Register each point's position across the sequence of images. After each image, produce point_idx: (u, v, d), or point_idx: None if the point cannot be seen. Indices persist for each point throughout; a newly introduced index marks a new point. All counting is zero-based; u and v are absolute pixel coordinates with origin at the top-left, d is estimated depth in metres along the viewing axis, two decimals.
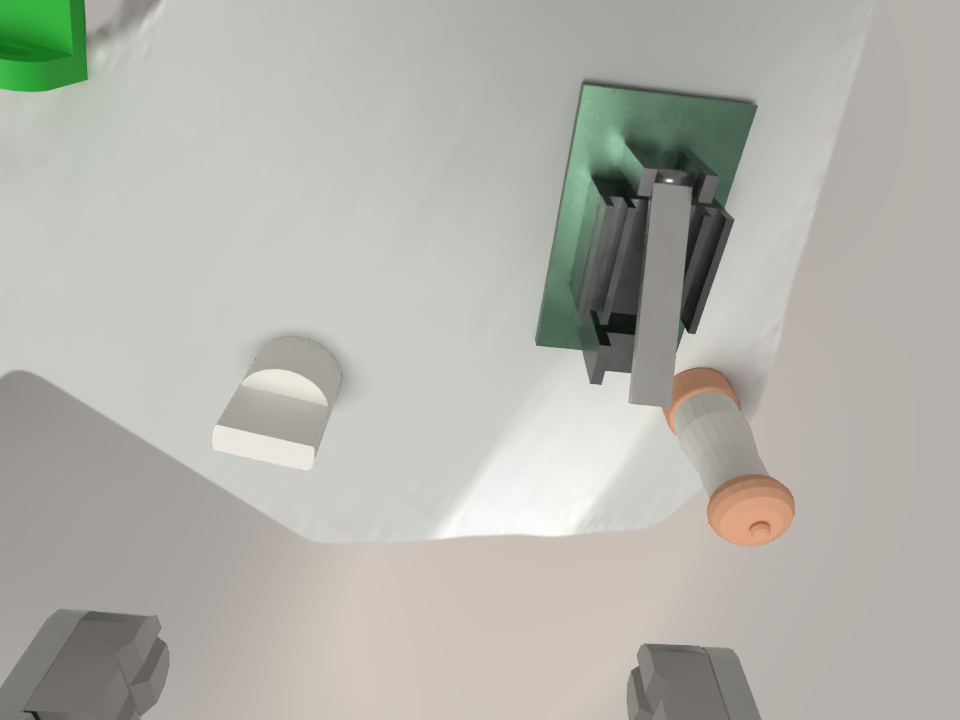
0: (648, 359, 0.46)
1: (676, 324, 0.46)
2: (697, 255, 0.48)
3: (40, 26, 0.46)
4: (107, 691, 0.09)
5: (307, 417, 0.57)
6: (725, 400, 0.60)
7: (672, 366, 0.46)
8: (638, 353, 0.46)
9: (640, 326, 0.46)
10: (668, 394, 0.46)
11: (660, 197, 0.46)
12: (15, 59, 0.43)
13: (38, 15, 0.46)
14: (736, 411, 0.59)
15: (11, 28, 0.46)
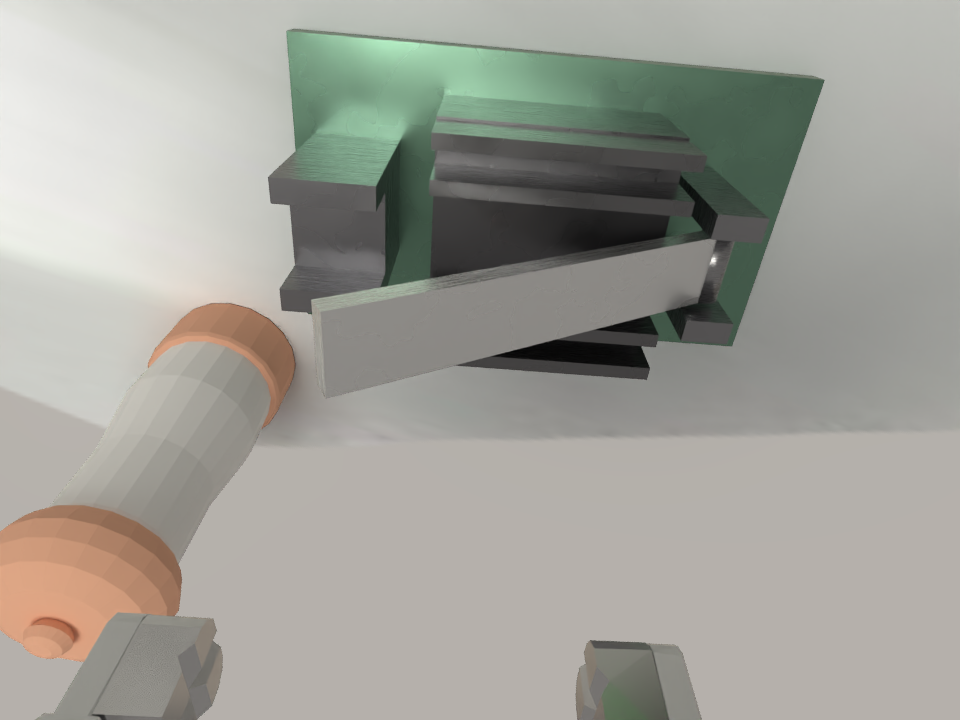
0: (428, 319, 0.19)
1: (497, 349, 0.22)
2: (583, 338, 0.26)
3: None
4: (172, 694, 0.09)
5: None
6: (263, 418, 0.34)
7: (417, 370, 0.20)
8: (440, 293, 0.19)
9: (495, 281, 0.20)
10: (355, 383, 0.19)
11: (696, 255, 0.25)
12: None
13: None
14: (253, 445, 0.33)
15: None
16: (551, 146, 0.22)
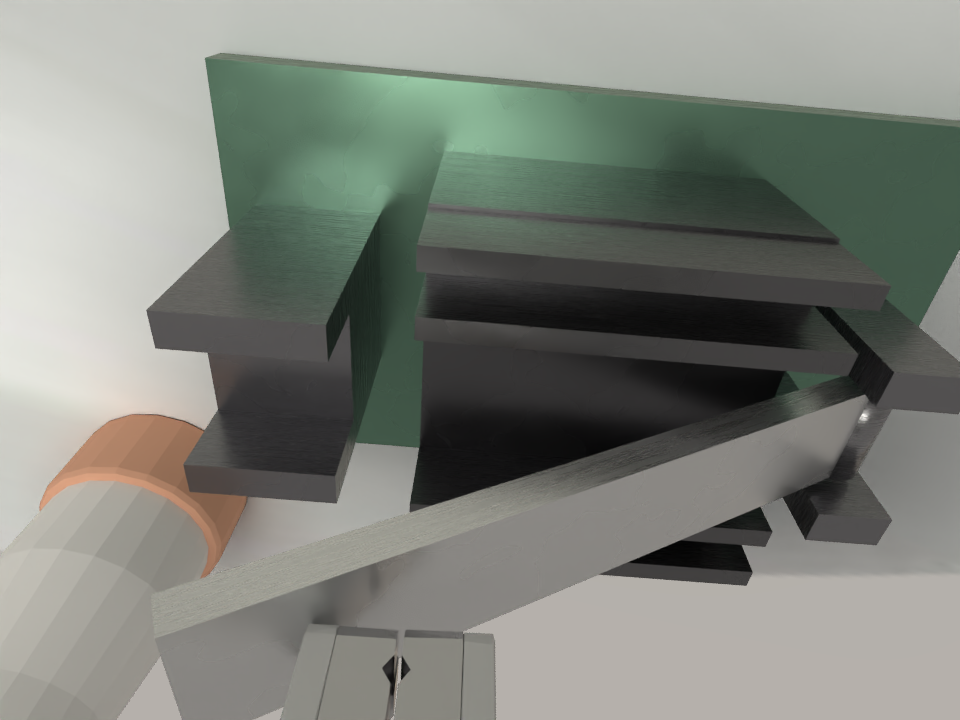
0: (384, 597, 0.11)
1: (513, 603, 0.13)
2: None
3: None
4: (384, 706, 0.09)
5: None
6: None
7: None
8: (406, 557, 0.10)
9: (511, 521, 0.11)
10: (248, 712, 0.11)
11: (838, 420, 0.16)
12: None
13: None
14: None
15: None
16: (622, 268, 0.13)
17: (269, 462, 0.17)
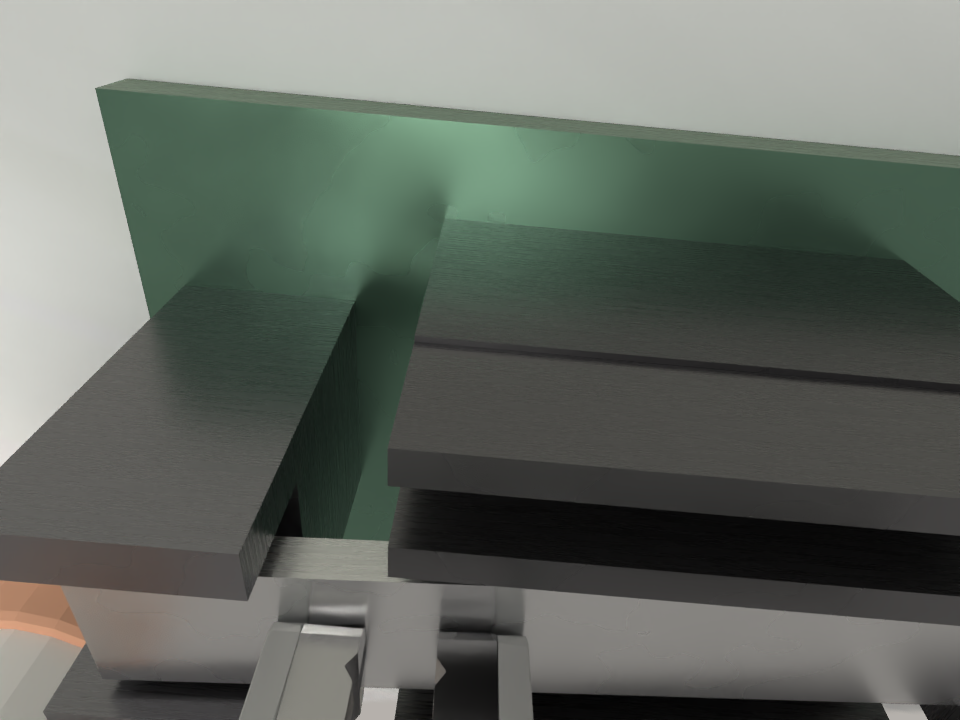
0: (288, 616, 0.10)
1: None
2: None
3: None
4: (345, 704, 0.09)
5: None
6: None
7: None
8: (309, 584, 0.10)
9: (438, 589, 0.10)
10: (155, 672, 0.11)
11: None
12: None
13: None
14: None
15: None
16: (754, 486, 0.07)
17: (176, 702, 0.11)
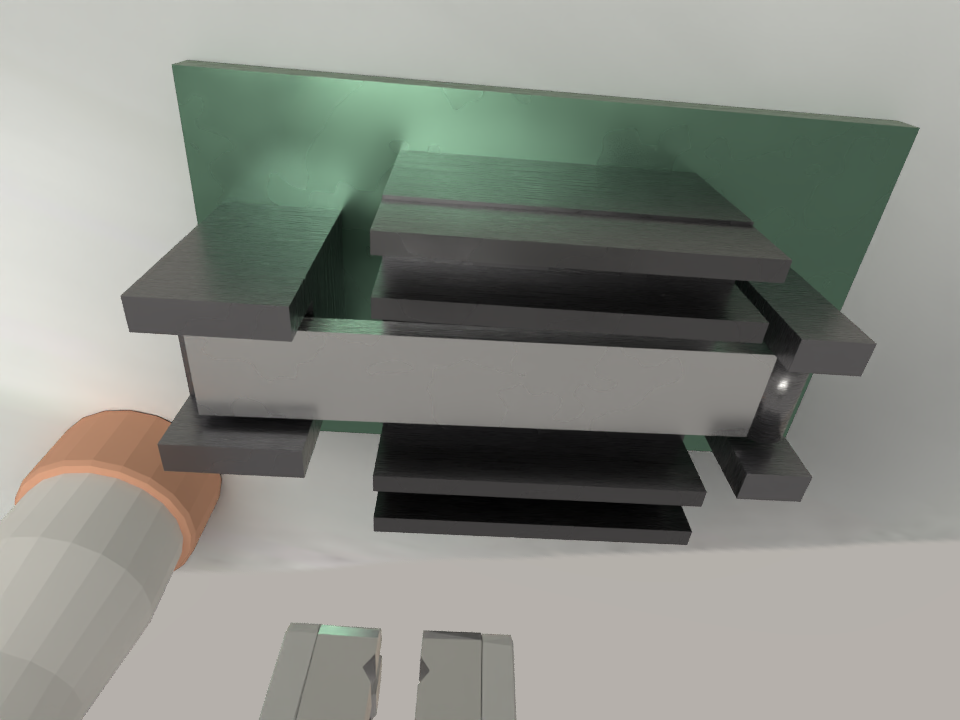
0: (313, 361, 0.17)
1: (414, 418, 0.18)
2: (600, 498, 0.19)
3: None
4: (364, 705, 0.09)
5: None
6: (170, 569, 0.25)
7: (306, 414, 0.18)
8: (326, 336, 0.17)
9: (400, 339, 0.17)
10: (231, 408, 0.18)
11: (737, 372, 0.18)
12: None
13: None
14: (154, 611, 0.24)
15: None
16: (556, 248, 0.14)
17: (239, 440, 0.18)
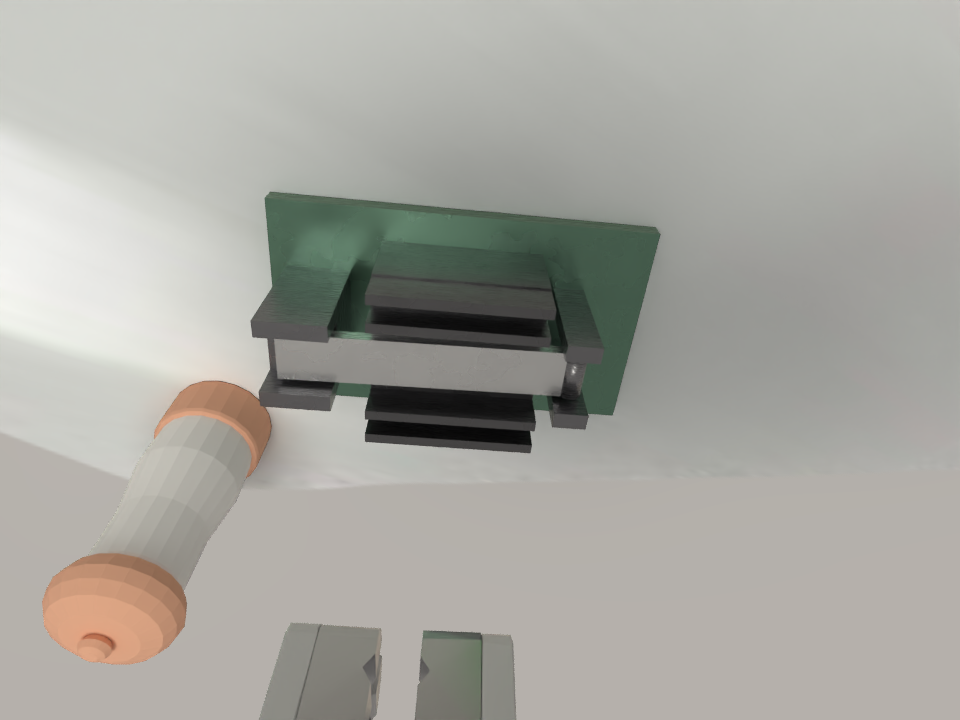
0: (336, 352, 0.35)
1: (386, 382, 0.36)
2: (481, 425, 0.36)
3: None
4: (364, 705, 0.09)
5: None
6: (245, 474, 0.43)
7: (331, 379, 0.36)
8: (343, 340, 0.35)
9: (379, 342, 0.35)
10: (294, 375, 0.36)
11: (549, 361, 0.36)
12: None
13: None
14: (237, 496, 0.42)
15: None
16: (448, 303, 0.32)
17: (298, 391, 0.35)
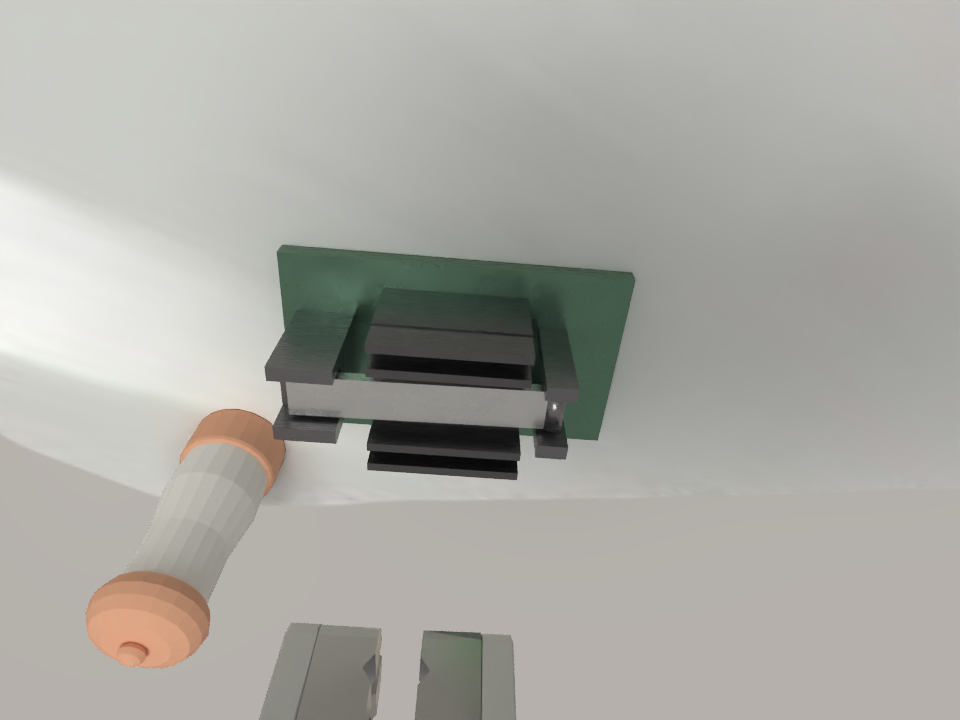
0: (340, 392, 0.39)
1: (386, 417, 0.40)
2: (471, 455, 0.40)
3: None
4: (364, 705, 0.09)
5: None
6: (261, 495, 0.47)
7: (337, 415, 0.40)
8: (346, 381, 0.39)
9: (379, 383, 0.39)
10: (303, 412, 0.40)
11: (532, 399, 0.40)
12: None
13: None
14: None
15: None
16: (438, 351, 0.36)
17: (307, 426, 0.40)
